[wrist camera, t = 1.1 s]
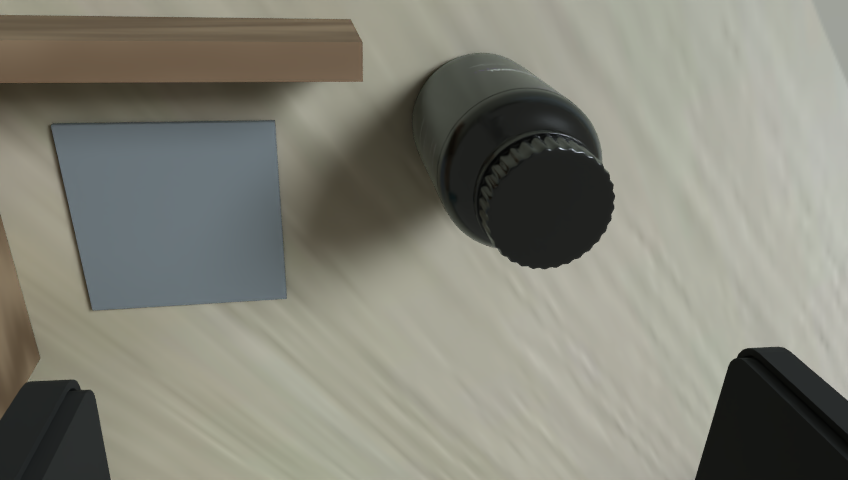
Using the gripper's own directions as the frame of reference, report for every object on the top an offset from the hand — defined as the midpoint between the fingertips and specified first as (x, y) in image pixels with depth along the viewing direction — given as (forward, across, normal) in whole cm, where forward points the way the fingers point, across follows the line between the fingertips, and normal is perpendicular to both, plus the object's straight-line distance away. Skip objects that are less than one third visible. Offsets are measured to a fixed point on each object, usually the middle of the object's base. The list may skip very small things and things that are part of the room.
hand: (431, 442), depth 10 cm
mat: (+25, +8, +6) cm, 27 cm away
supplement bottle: (+25, -6, +1) cm, 26 cm away
